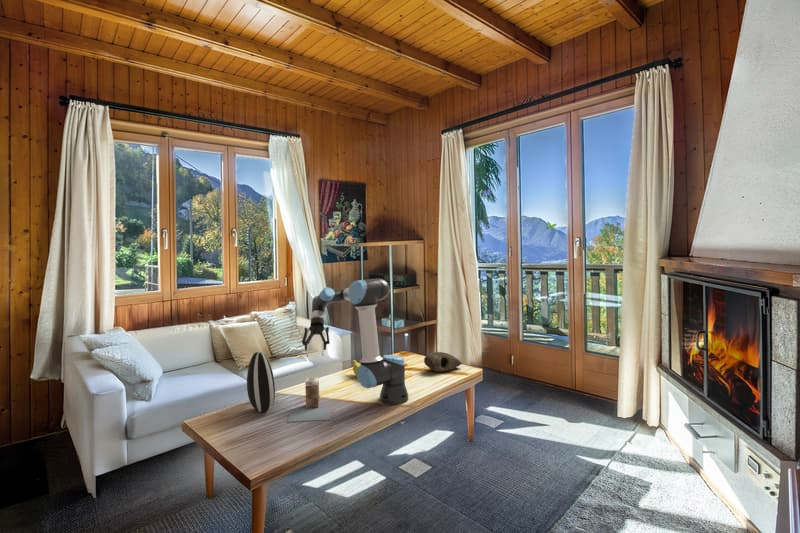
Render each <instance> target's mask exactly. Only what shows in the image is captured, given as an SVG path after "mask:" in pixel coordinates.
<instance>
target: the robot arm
mask: <svg viewBox="0 0 800 533" xmlns="http://www.w3.org/2000/svg"><path fill="white" fill-rule="evenodd" d="M389 294H390V285H389V283H388V282H387V281H386V280H385V279H383V278H370V279H359V280H355V281H353V282H352V283H351V285H350V286H349V287H346V288H339V289H333V288H331V287H329V286H328V287H327V286H326V287H324V288H323V289H322V290H321V291H320V293H319V294H318V295H316V296H314V297H313V298H312V300H311V312H310V314H311V316H310V326H309V327H305V328H304V333H303V337H302V340H301V341H302V342H301V344H302V345H303V346H304V349H305V350H304V351H305V352H306V357H309V354H310V343H311V341H312V338H313V337H314V335H319V336H320V338H321V341H322V342H321V343H322V344H321V345H322V346H321V356H322V357H324V355H325V351H326V350H327V345H330V344H331V343H330V335H329V331H330V328H329V327H328V326H327V327H325V326H324V324H325V310H326V307H327V306H328V305H329V304H333V303H334V304H335V303H341V302H342V303H343V302H350V303H352V304H353V305H354V308H355V310H357V312H358V315H357V316H358V323H359V325H358V326H359V331H360V332H359V333H360V341H361V351H362V358H361V359H360V360H359V363H360V364H361V366H359V367H358V368H357V376H356V377H357V380H358V382H359V383H360V385H361V386H362V387H364V388H366V389H370V388H375V387H377V386H381V385H382V387H381V390H380V393H379V401H380V402H381V403H383V404H386V405H401V404H404V403H406V402H407V401H409V393H408V390H407V386H406V381H405V380H406V378H405V374H406V373H405V372H406V371H405V370H406V369H405V368H406V364H405V358H404V357H403V356H400V355H397V354H396V355H395V354H385V355H384V354H383V356H381V355H380V347H379V346H380V345H379V336H378V328H377V317H376V307H377V306H378V301H383V300H384V299H386V298H387V297H388V296H389ZM309 332H310V334H309V335H308V333H309ZM323 332H325V335H326V339H325V336H324V335H323Z"/></svg>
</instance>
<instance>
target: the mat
mask: <svg viewBox="0 0 800 533" xmlns="http://www.w3.org/2000/svg"><path fill="white" fill-rule="evenodd" d="M332 410H333V407H319V408H312V409H306V408H299V409H298V408H296V409H291V411H290V413H289V415H288V418H287V420H286V423H300V422H301V423H303V422H319V421H330V420H331V417H332V412H333V411H332Z"/></svg>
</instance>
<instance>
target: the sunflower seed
mask: <svg viewBox="0 0 800 533" xmlns="http://www.w3.org/2000/svg"><path fill="white" fill-rule="evenodd" d="M246 374H247V375H246V390H247V396H248V400H249V403H250V404H251V406H252V407H253V409H254V410H256V411H257V412H259V413H267V412H270V410H271V409H272V408H273V405H274V403H275V398H276V385H275V384H276V383H275V377H274V371H273V368H272V365H271V363H270V360H269V357H268V356H267V355H266V354H265V352H262V351H256V352H254V353H253V354H252V356H251V358H250V361H249V365H248V368H247V373H246Z"/></svg>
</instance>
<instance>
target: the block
mask: <svg viewBox="0 0 800 533" xmlns="http://www.w3.org/2000/svg"><path fill="white" fill-rule="evenodd" d="M319 378H320V377H307V378H306V379H305V409H312V408H320V407H319V406H320V405H321V404H320V381H319V380H320V379H319Z"/></svg>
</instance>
